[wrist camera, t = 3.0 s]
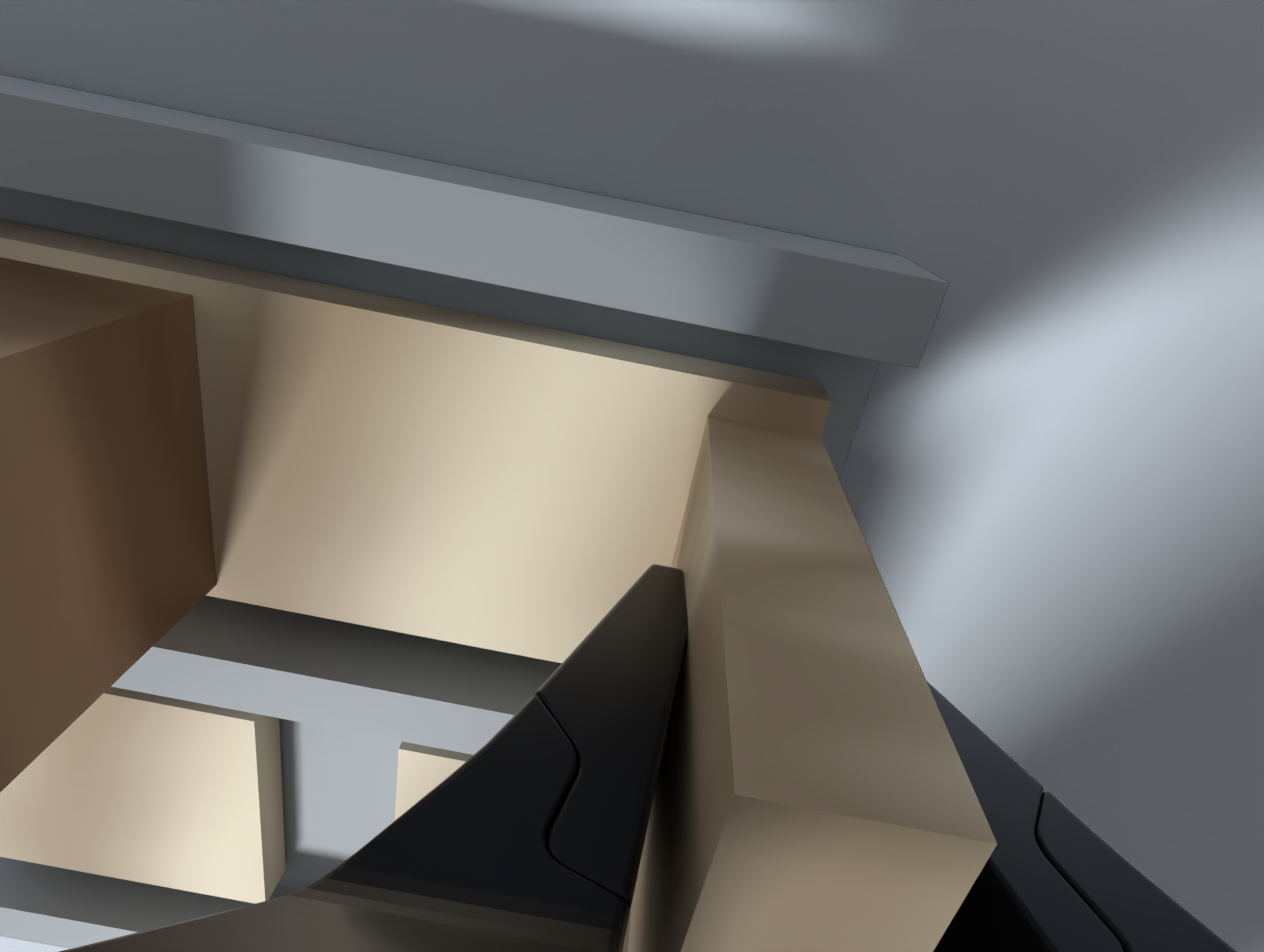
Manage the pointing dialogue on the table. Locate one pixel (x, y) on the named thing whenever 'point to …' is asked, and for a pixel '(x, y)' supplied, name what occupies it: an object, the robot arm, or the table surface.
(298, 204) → the lane board
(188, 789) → the strip broken
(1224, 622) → the table surface
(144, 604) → the cube
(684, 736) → the tan piece
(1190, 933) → the robot arm
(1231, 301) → the table surface
